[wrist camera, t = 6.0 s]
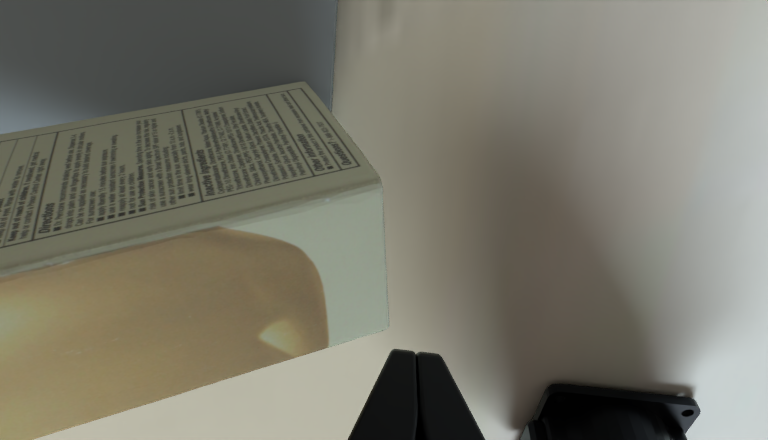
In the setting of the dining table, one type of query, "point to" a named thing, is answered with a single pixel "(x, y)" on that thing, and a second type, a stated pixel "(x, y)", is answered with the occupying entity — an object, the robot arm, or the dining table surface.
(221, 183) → the skincare box
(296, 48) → the mat
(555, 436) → the robot arm
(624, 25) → the dining table surface
